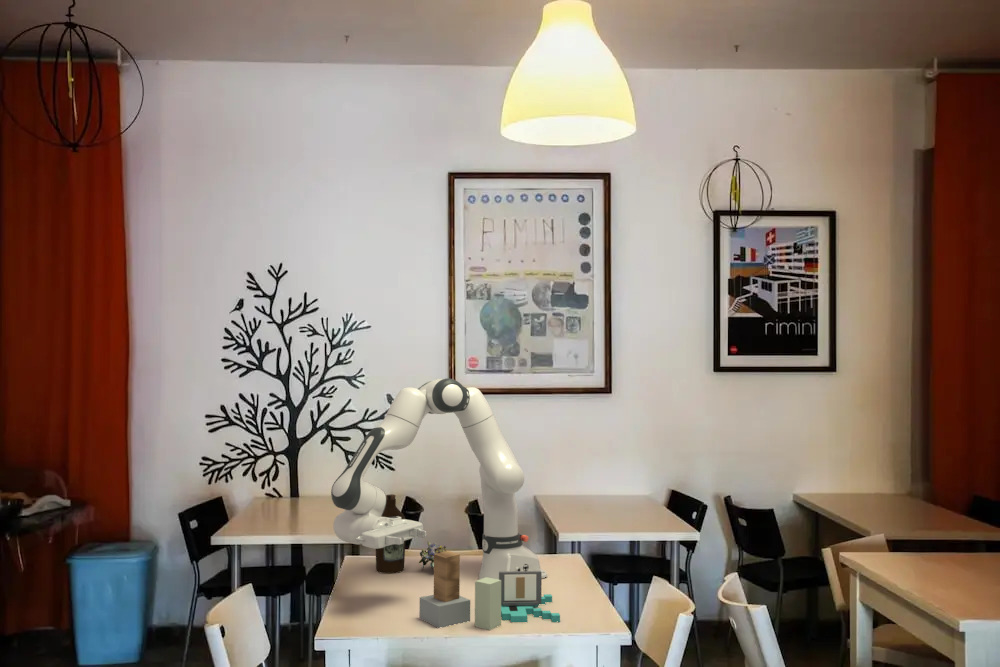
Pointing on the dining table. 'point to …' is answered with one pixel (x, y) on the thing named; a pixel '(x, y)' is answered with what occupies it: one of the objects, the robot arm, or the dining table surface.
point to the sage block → (487, 603)
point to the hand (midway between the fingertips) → (413, 537)
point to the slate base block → (444, 611)
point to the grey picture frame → (520, 588)
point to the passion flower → (430, 553)
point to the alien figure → (528, 611)
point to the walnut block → (446, 576)
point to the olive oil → (392, 555)
